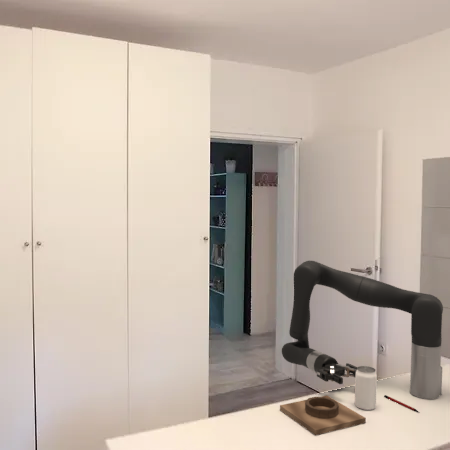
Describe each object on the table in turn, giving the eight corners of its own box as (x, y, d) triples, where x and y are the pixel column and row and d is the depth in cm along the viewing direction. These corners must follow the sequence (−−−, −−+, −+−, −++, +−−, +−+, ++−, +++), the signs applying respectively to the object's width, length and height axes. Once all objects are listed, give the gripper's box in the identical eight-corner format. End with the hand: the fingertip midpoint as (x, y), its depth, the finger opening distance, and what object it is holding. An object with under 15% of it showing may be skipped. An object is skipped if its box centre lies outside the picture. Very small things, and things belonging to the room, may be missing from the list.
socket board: (326, 399, 161) (327, 387, 160) (365, 422, 144) (365, 409, 144) (279, 410, 153) (280, 397, 152) (315, 435, 136) (315, 421, 136)
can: (373, 402, 159) (374, 365, 158) (377, 411, 153) (378, 373, 152) (353, 401, 160) (354, 365, 159) (356, 410, 153) (357, 372, 152)
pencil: (418, 414, 151) (418, 411, 151) (383, 397, 163) (384, 394, 163) (420, 413, 152) (420, 410, 152) (385, 397, 164) (386, 394, 164)
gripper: (305, 356, 172) (335, 371, 158) (338, 351, 179) (369, 365, 164) (305, 377, 173) (334, 394, 158) (337, 371, 179) (369, 387, 165)
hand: (352, 379), depth 161 cm, fingers open, 8 cm apart
